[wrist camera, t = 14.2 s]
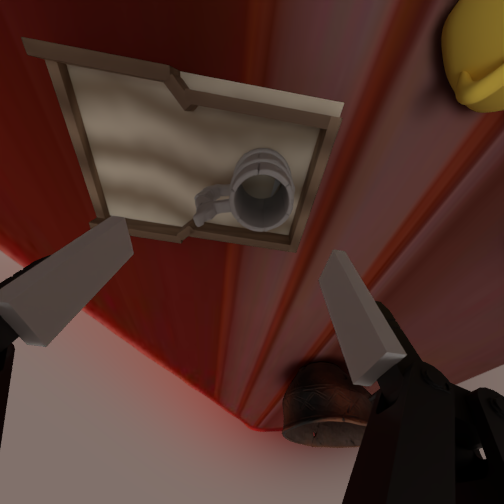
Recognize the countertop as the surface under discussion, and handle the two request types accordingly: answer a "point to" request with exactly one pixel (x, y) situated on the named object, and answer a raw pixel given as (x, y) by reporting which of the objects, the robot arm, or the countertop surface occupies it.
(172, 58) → the countertop surface
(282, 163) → the mug
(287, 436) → the bowl
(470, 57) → the teapot
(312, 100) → the rimmed tray
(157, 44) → the countertop surface
